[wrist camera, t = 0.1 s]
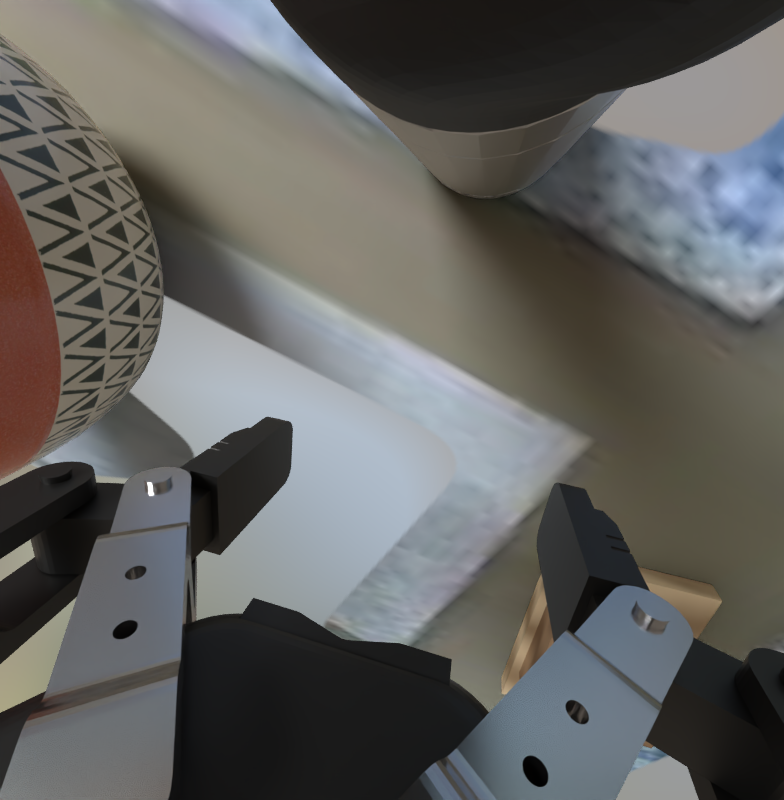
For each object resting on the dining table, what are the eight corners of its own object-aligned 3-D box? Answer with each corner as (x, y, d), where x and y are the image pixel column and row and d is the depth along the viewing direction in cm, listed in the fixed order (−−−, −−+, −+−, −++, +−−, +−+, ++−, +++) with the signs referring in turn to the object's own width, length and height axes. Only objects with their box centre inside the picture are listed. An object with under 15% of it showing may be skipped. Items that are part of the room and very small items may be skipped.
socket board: (551, 545, 32) (560, 590, 28) (712, 584, 30) (746, 639, 26) (501, 677, 39) (502, 728, 35) (627, 716, 38) (643, 774, 33)
